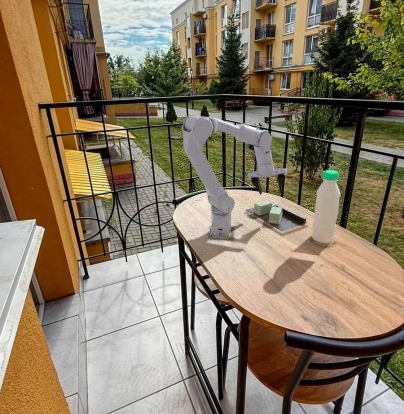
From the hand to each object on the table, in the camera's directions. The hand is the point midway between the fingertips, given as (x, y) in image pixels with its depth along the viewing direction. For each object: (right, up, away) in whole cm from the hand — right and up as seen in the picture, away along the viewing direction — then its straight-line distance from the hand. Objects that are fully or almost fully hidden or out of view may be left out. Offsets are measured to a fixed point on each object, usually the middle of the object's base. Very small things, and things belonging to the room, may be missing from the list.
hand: (270, 192), depth 110 cm
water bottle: (+14, -17, -14) cm, 26 cm away
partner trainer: (-2, -8, +6) cm, 11 cm away
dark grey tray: (+2, -11, +3) cm, 12 cm away
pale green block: (+2, -11, 0) cm, 11 cm away
